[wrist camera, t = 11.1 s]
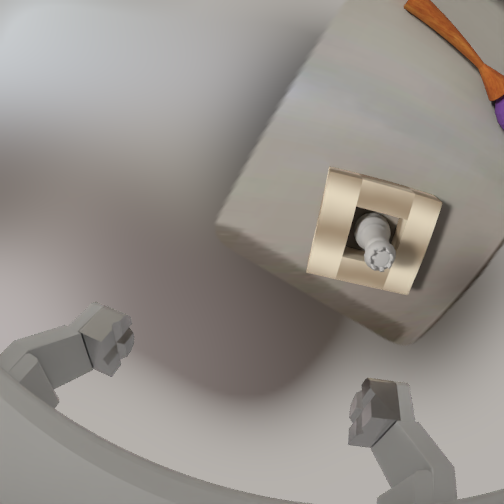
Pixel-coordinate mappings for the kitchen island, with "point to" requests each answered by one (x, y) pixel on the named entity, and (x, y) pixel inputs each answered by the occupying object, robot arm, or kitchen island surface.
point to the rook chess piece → (375, 241)
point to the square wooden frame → (380, 200)
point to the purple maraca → (461, 50)
